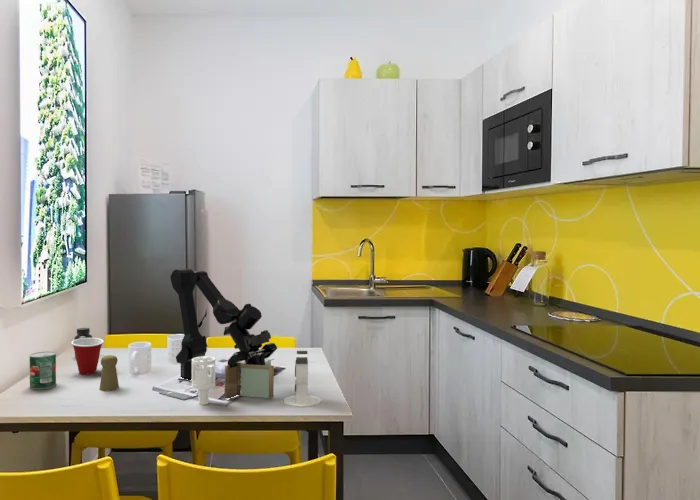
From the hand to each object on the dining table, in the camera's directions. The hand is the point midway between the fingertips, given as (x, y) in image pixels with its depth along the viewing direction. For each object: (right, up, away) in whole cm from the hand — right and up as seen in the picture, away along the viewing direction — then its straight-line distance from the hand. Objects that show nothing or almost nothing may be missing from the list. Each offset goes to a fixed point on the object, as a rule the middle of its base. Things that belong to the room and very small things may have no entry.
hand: (266, 376), depth 184 cm
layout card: (-28, -6, +2) cm, 28 cm away
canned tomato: (-77, -5, +8) cm, 77 cm away
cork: (-54, -6, +6) cm, 54 cm away
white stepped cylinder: (-18, -7, -8) cm, 21 cm away
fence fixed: (-10, -6, -2) cm, 12 cm away
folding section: (-3, -6, -1) cm, 7 cm away
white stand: (+12, -7, -4) cm, 15 cm away
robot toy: (-11, -5, +31) cm, 33 cm away
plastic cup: (-70, -4, +26) cm, 74 cm away
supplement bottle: (-82, -3, +49) cm, 96 cm away
